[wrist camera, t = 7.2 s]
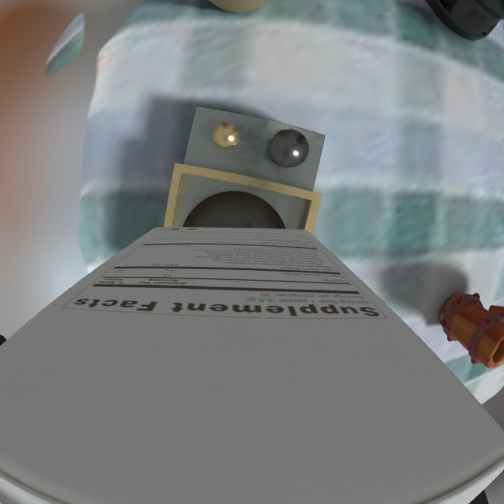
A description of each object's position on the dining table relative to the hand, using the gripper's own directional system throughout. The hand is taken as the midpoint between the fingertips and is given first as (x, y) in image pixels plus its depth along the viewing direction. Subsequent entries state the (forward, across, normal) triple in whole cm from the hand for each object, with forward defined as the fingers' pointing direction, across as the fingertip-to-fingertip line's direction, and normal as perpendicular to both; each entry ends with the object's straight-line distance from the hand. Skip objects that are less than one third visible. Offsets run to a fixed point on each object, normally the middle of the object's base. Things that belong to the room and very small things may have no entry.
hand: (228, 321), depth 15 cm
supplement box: (+3, 0, 0) cm, 3 cm away
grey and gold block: (+22, 0, +3) cm, 22 cm away
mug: (+22, +40, -4) cm, 46 cm away
